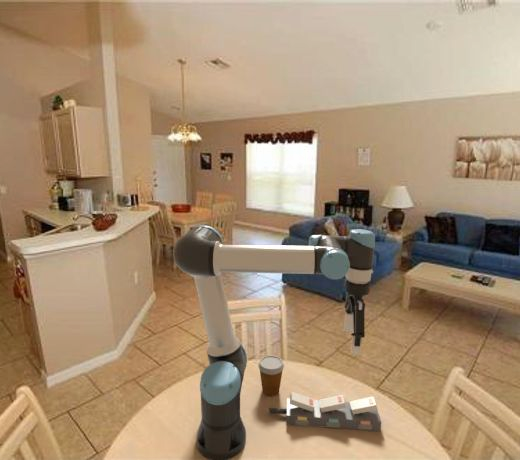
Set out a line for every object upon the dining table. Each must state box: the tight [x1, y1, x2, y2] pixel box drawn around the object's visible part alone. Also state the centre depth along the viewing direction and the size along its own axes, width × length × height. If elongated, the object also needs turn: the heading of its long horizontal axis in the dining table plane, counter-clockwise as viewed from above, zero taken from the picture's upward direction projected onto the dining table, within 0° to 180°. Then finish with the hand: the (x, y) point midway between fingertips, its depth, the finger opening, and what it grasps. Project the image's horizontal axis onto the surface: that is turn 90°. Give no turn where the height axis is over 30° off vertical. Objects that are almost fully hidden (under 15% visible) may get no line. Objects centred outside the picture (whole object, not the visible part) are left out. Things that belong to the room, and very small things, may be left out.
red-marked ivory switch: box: [289, 391, 315, 412], centre depth 114 cm, size 8×4×2 cm, turn 86°
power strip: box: [268, 397, 382, 432], centre depth 114 cm, size 36×8×5 cm, turn 85°
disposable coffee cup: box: [257, 355, 285, 397], centre depth 127 cm, size 10×10×12 cm
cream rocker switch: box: [349, 396, 378, 415], centre depth 113 cm, size 8×4×2 cm, turn 85°
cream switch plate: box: [318, 394, 346, 413], centre depth 113 cm, size 8×4×2 cm, turn 85°
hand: (351, 342), depth 110 cm, fingers open, 13 cm apart
